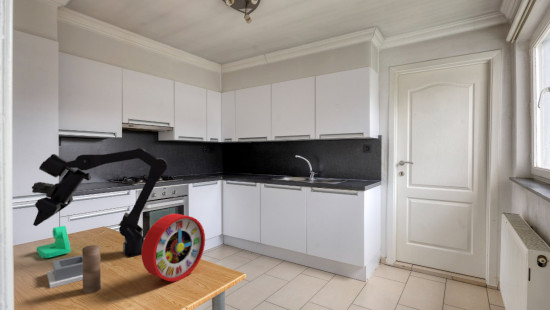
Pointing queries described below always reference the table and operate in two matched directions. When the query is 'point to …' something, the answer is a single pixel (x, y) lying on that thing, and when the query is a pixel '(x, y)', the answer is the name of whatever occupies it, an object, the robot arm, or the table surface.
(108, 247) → the table surface
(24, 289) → the table surface
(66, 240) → the camera mount
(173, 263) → the toy clock
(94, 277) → the walnut peg
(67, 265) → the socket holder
